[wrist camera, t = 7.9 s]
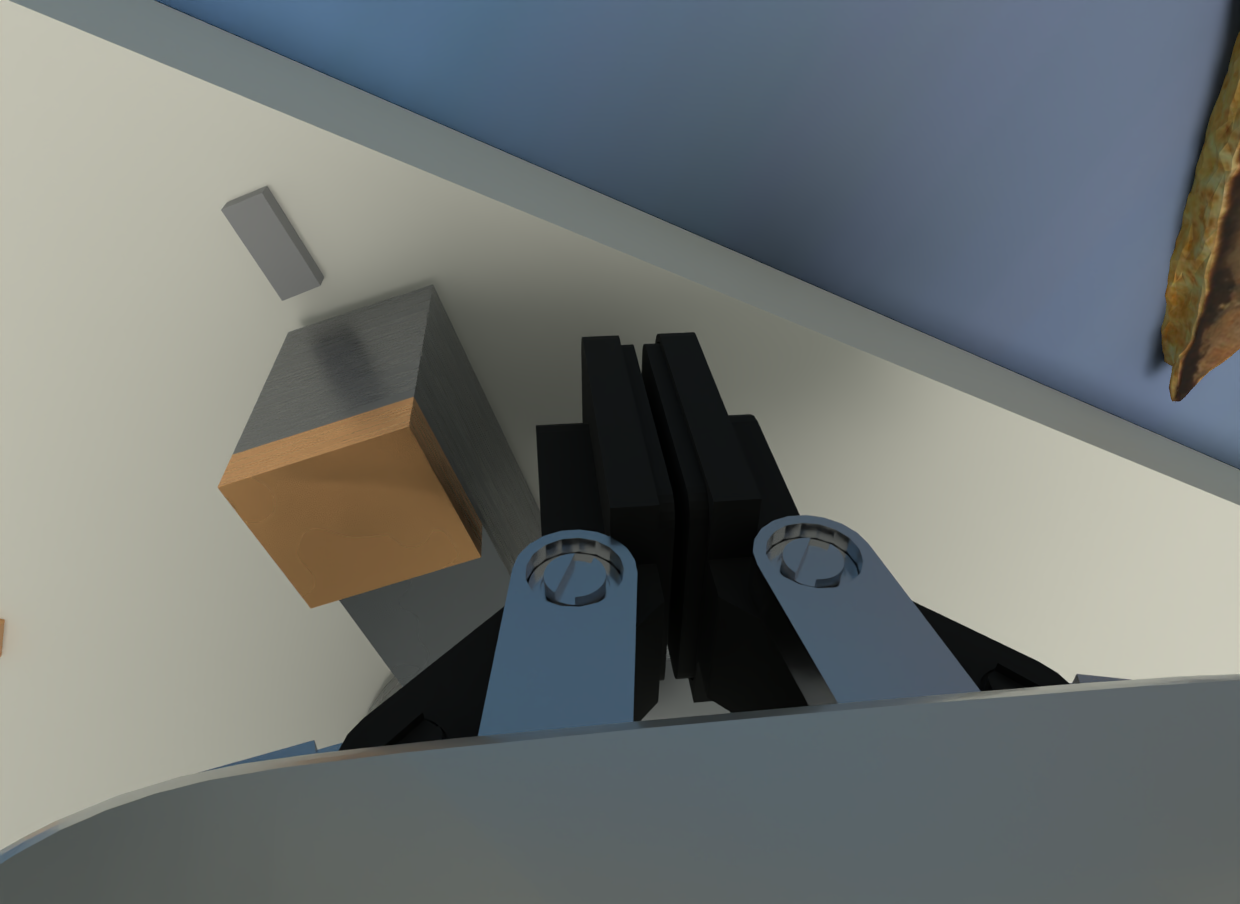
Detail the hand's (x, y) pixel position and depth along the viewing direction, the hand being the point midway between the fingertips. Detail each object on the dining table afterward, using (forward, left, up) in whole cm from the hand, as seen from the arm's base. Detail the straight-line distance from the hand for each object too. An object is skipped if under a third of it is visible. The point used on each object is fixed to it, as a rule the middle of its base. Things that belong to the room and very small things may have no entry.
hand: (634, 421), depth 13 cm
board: (-9, -4, -4) cm, 10 cm away
